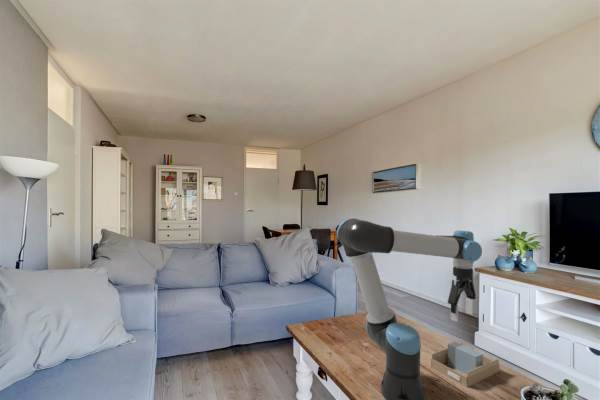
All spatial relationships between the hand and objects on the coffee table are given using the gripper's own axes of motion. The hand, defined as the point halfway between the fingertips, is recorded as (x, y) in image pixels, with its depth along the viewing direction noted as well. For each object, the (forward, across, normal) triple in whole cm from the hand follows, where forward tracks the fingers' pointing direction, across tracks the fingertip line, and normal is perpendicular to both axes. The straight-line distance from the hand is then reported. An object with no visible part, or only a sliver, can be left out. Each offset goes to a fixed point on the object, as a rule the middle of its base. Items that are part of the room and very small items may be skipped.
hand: (461, 317), depth 128 cm
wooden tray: (+21, -2, -2) cm, 21 cm away
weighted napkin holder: (+21, -2, -2) cm, 21 cm away
